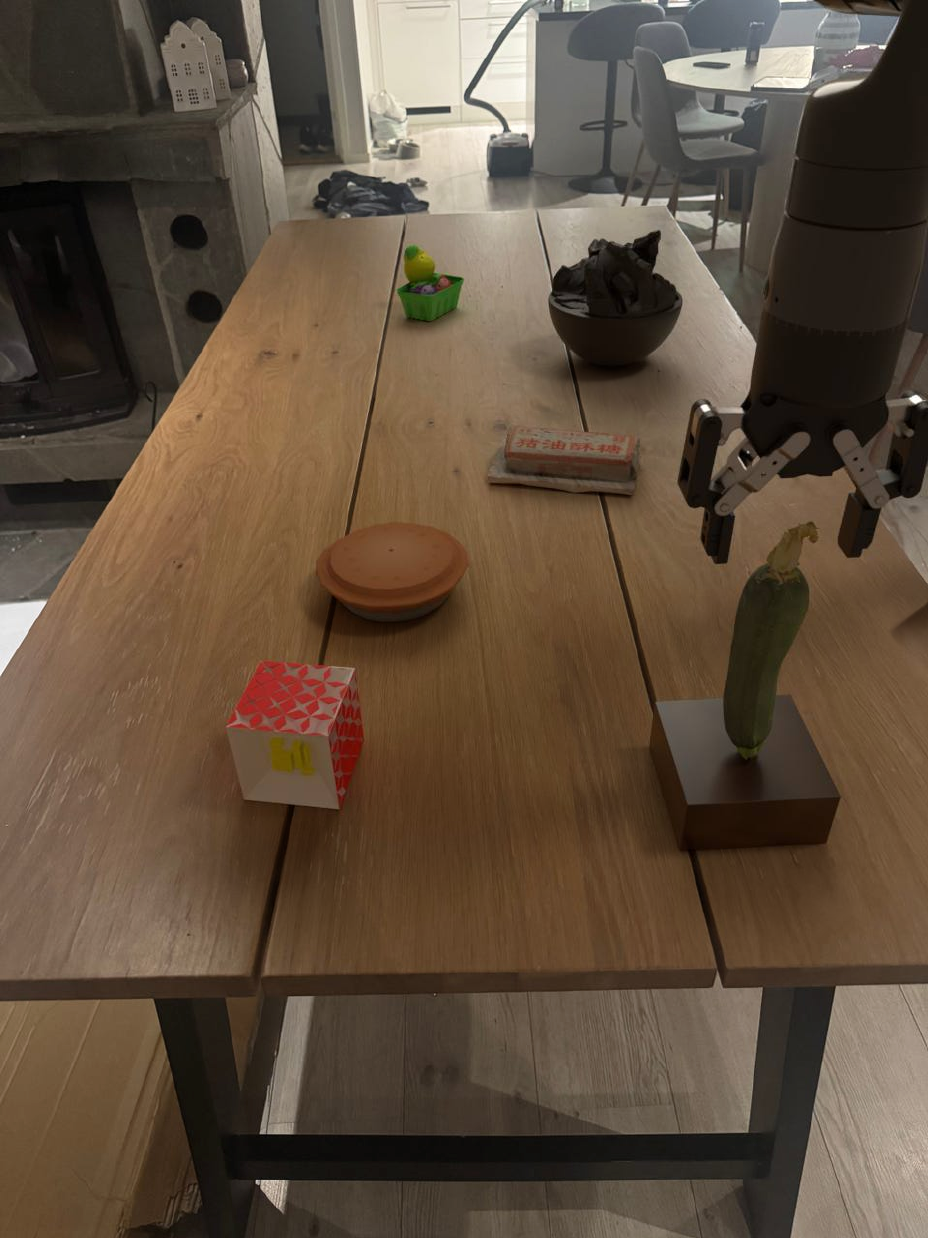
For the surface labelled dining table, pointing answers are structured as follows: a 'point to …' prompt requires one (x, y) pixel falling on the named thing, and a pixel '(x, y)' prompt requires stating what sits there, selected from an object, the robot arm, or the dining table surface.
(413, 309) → the fruit basket
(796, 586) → the vegetable
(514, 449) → the packaged product
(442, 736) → the dining table surface
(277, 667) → the red patterned cube box
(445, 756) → the dining table surface
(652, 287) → the bowl of black rocks
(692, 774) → the block
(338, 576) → the pie
